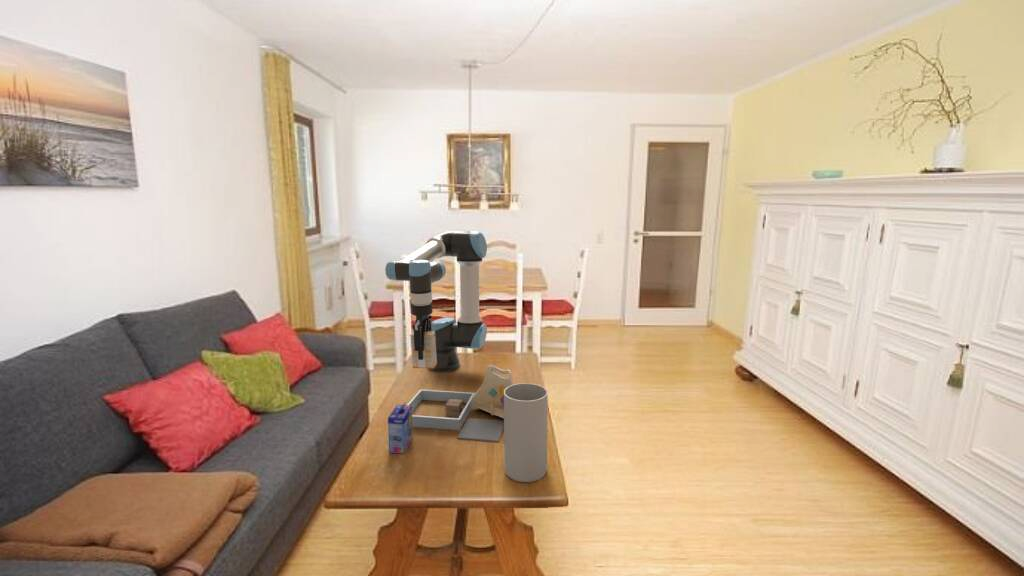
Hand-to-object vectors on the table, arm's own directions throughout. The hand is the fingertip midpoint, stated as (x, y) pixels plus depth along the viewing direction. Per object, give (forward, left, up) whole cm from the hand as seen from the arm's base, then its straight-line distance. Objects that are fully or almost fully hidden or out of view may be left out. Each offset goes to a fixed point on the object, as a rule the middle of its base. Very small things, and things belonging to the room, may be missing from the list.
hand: (424, 364), depth 171 cm
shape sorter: (-2, +28, -19) cm, 34 cm away
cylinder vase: (+32, +42, -19) cm, 56 cm away
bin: (0, +5, -19) cm, 20 cm away
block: (0, +11, -19) cm, 22 cm away
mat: (+10, +24, -19) cm, 32 cm away
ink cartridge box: (+24, 0, -19) cm, 31 cm away
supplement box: (0, 0, -1) cm, 1 cm away
